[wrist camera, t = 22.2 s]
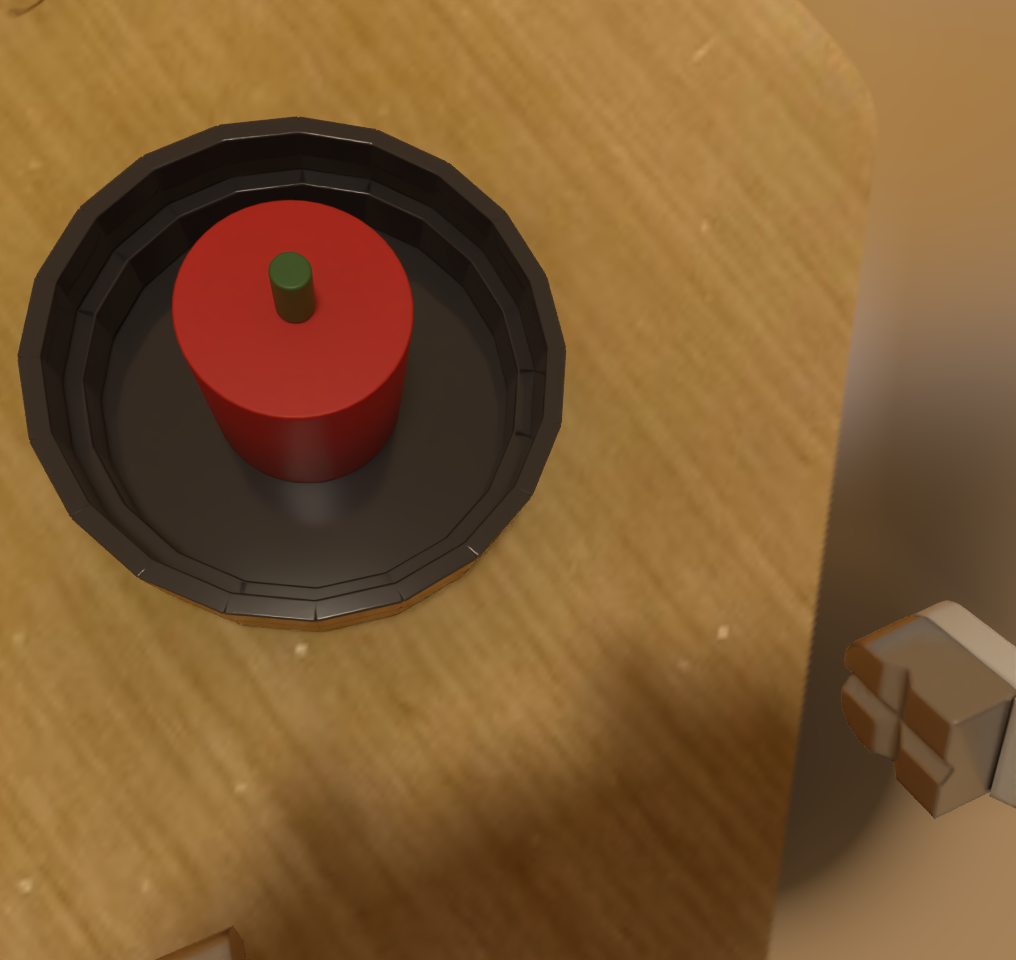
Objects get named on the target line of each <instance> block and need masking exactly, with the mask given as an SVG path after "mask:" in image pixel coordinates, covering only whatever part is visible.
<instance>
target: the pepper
mask: <svg viewBox="0 0 1016 960" xmlns="http://www.w3.org/2000/svg"><path fill="white" fill-rule="evenodd" d="M172 318H173V326H174V330H175V334H176V338H177V341H178V344H179V346H180V348H181V351H182V353H183V355H184V357H185V359H186V361H187V363H188V365H189V367H190V369H191V371H192V373H193V375H194V377H195V379H196V381H197V383H198V385H199V387H200V389H201V391H202V393H203V395H204V397H205V399H206V401H207V403H208V405H209V407H210V409H211V411H212V413H213V415H214V417H215V419H216V421H217V423H218V425H219V427H220V429H221V431H222V433H223V435H224V437H225V438H226V440H227V442H228V443H229V444H230V446H231V447H232V448H233V449H234V451H235V452H236V453H237V454H238V455H239V456H240V457H241V458H242V459H243V460H245V461H246V462H247V463H249V464H250V465H251V466H253V467H254V468H256V469H258V470H260V471H261V472H263V473H265V474H268V475H270V476H273V477H275V478H278V479H282V480H286V481H292V482H300V483H315V482H323V481H328V480H332V479H336V478H339V477H342V476H344V475H347V474H349V473H351V472H353V471H355V470H357V469H358V468H360V467H362V466H363V465H364V464H366V463H367V462H368V461H370V460H371V459H372V458H373V457H374V456H375V455H376V454H377V453H378V452H379V451H380V450H381V448H382V447H383V446H384V445H385V443H386V442H387V440H388V438H389V437H390V435H391V433H392V431H393V429H394V426H395V424H396V421H397V417H398V413H399V408H400V402H401V396H402V390H403V384H404V378H405V371H406V365H407V359H408V353H409V347H410V341H411V334H412V327H413V319H414V308H413V298H412V292H411V287H410V284H409V281H408V278H407V275H406V273H405V270H404V268H403V266H402V264H401V262H400V261H399V259H398V257H397V256H396V254H395V253H394V251H393V250H392V249H391V247H390V246H389V245H388V244H387V243H386V241H385V240H384V239H383V238H382V237H381V236H380V235H378V234H377V233H376V232H375V231H374V230H373V229H372V228H370V227H369V226H368V225H366V224H365V223H364V222H362V221H361V220H359V219H357V218H355V217H354V216H352V215H350V214H348V213H346V212H344V211H341V210H339V209H336V208H334V207H331V206H327V205H324V204H320V203H315V202H309V201H299V200H282V201H271V202H266V203H261V204H257V205H253V206H250V207H247V208H244V209H242V210H239V211H237V212H235V213H233V214H231V215H229V216H227V217H226V218H224V219H222V220H221V221H219V222H218V223H216V224H215V225H214V226H213V227H211V228H210V229H209V230H208V231H206V232H205V233H204V234H203V235H202V237H201V238H200V239H199V240H198V241H197V242H196V243H195V244H194V246H193V247H192V249H191V250H190V251H189V253H188V254H187V256H186V258H185V259H184V261H183V263H182V265H181V267H180V270H179V272H178V275H177V278H176V281H175V285H174V291H173V296H172Z"/></svg>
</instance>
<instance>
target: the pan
mask: <svg viewBox="0 0 1016 960" xmlns="http://www.w3.org/2000/svg"><path fill="white" fill-rule="evenodd" d="M282 200H299V201H309V202H315V203H320V204H324V205H327V206H331V207H334V208H336V209H339V210H341V211H344V212H346V213H348V214H350V215H352V216H354V217H355V218H357V219H359V220H361V221H362V222H364V223H365V224H366V225H368V226H369V227H370V228H372V229H373V230H374V231H375V232H376V233H377V234H378V235H380V236H381V237H382V238H383V239H384V240H385V241H386V243H387V244H388V245H389V246H390V247H391V249H392V250H393V251H394V253H395V254H396V256H397V257H398V259H399V261H400V262H401V264H402V266H403V268H404V270H405V273H406V275H407V278H408V281H409V284H410V287H411V292H412V298H413V308H414V319H413V327H412V334H411V341H410V347H409V353H408V359H407V365H406V371H405V378H404V384H403V390H402V396H401V402H400V408H399V413H398V417H397V421H396V424H395V426H394V429H393V431H392V433H391V435H390V437H389V438H388V440H387V442H386V443H385V445H384V446H383V447H382V448H381V450H380V451H379V452H378V453H377V454H376V455H375V456H374V457H373V458H372V459H371V460H370V461H368V462H367V463H366V464H364V465H363V466H362V467H360V468H358V469H357V470H355V471H353V472H351V473H349V474H347V475H344V476H342V477H339V478H336V479H332V480H328V481H323V482H315V483H300V482H292V481H286V480H282V479H278V478H275V477H273V476H270V475H268V474H265V473H263V472H261V471H260V470H258V469H256V468H254V467H253V466H251V465H250V464H249V463H247V462H246V461H245V460H243V459H242V458H241V457H240V456H239V455H238V454H237V453H236V452H235V451H234V449H233V448H232V447H231V446H230V444H229V443H228V442H227V440H226V438H225V437H224V435H223V433H222V431H221V429H220V427H219V425H218V423H217V421H216V419H215V417H214V415H213V413H212V411H211V409H210V407H209V405H208V403H207V401H206V399H205V397H204V395H203V393H202V391H201V389H200V387H199V385H198V383H197V381H196V379H195V377H194V375H193V373H192V371H191V369H190V367H189V365H188V363H187V361H186V359H185V357H184V355H183V353H182V351H181V348H180V346H179V344H178V341H177V338H176V334H175V330H174V326H173V318H172V296H173V291H174V285H175V281H176V278H177V275H178V272H179V270H180V267H181V265H182V263H183V261H184V259H185V258H186V256H187V254H188V253H189V251H190V250H191V249H192V247H193V246H194V244H195V243H196V242H197V241H198V240H199V239H200V238H201V237H202V235H203V234H204V233H205V232H206V231H208V230H209V229H210V228H211V227H213V226H214V225H215V224H216V223H218V222H219V221H221V220H222V219H224V218H226V217H227V216H229V215H231V214H233V213H235V212H237V211H239V210H242V209H244V208H247V207H250V206H253V205H257V204H261V203H266V202H271V201H282ZM565 348H566V346H565V342H564V338H563V335H562V331H561V327H560V323H559V320H558V316H557V312H556V308H555V305H554V301H553V297H552V293H551V290H550V286H549V282H548V278H547V277H546V274H545V272H544V271H543V269H542V268H541V266H540V265H539V263H538V261H537V260H536V258H535V257H534V255H533V254H532V252H531V250H530V249H529V247H528V246H527V244H526V243H525V241H524V239H523V238H522V236H521V235H520V233H519V232H518V230H517V228H516V227H515V225H514V224H513V222H512V221H511V219H510V217H509V216H508V214H507V213H506V212H505V211H504V210H503V209H502V208H501V207H500V206H499V205H497V204H496V203H495V202H494V201H493V200H492V199H490V198H489V197H488V196H487V195H486V194H485V193H483V192H482V191H481V190H480V189H479V188H478V187H477V186H475V185H474V184H473V183H472V182H471V181H470V180H468V179H467V178H466V177H465V176H464V175H463V174H461V173H460V172H459V171H458V170H457V169H456V168H455V167H453V166H452V165H451V164H450V163H447V162H446V161H444V160H442V159H440V158H438V157H436V156H433V155H431V154H429V153H427V152H425V151H423V150H420V149H418V148H416V147H414V146H412V145H410V144H408V143H405V142H403V141H401V140H399V139H397V138H395V137H392V136H390V135H388V134H386V133H384V132H382V131H380V130H376V129H372V128H366V127H359V126H353V125H347V124H341V123H335V122H329V121H323V120H317V119H311V118H305V117H299V118H298V117H287V118H277V119H268V120H259V121H249V122H240V123H231V124H221V125H219V126H214V127H212V128H209V129H207V130H204V131H202V132H199V133H197V134H194V135H192V136H189V137H187V138H185V139H182V140H180V141H177V142H175V143H172V144H170V145H167V146H165V147H162V148H160V149H158V150H155V151H153V152H150V153H148V154H145V155H144V156H143V157H140V158H139V159H138V160H136V161H135V162H134V163H133V164H132V165H130V166H129V167H128V168H127V169H125V170H124V171H123V172H122V173H121V174H119V175H118V176H117V177H116V178H114V179H113V180H112V181H111V182H110V183H108V184H107V185H106V186H105V187H103V188H102V189H101V190H100V191H99V192H97V193H96V194H95V195H94V196H92V197H91V198H90V199H89V200H88V201H86V202H85V203H84V204H83V205H81V207H80V209H78V210H77V211H76V213H75V215H74V216H73V218H72V219H71V221H70V223H69V224H68V226H67V227H66V229H65V230H64V232H63V234H62V235H61V237H60V238H59V240H58V242H57V243H56V245H55V246H54V248H53V249H52V251H51V253H50V254H49V256H48V257H47V259H46V261H45V262H44V264H43V265H42V267H41V268H40V270H39V272H38V273H37V275H36V277H35V279H34V283H33V288H32V292H31V297H30V301H29V306H28V310H27V315H26V320H25V324H24V329H23V333H22V338H21V342H20V347H19V351H18V366H19V373H20V381H21V388H22V395H23V402H24V409H25V416H26V423H27V430H28V437H29V440H30V444H31V446H32V448H33V450H34V451H35V453H36V455H37V457H38V459H39V461H40V462H41V464H42V466H43V468H44V470H45V472H46V473H47V475H48V477H49V479H50V481H51V483H52V484H53V486H54V488H55V490H56V492H57V494H58V496H59V497H60V499H61V501H62V503H63V505H64V507H65V508H66V510H67V512H68V514H69V516H70V517H72V520H73V521H75V522H76V523H77V524H78V525H79V526H80V527H81V528H82V529H84V530H85V531H86V532H87V533H88V534H89V535H90V536H91V537H93V538H94V539H95V540H96V541H97V542H98V543H99V544H100V545H102V546H103V547H104V548H105V549H106V550H107V551H108V552H109V553H110V554H112V555H113V556H114V557H115V558H116V559H117V560H118V561H119V562H121V563H122V564H123V565H124V566H125V567H126V568H127V569H128V570H130V571H131V572H132V573H133V574H134V575H135V576H136V577H138V578H140V579H141V580H143V581H145V582H146V583H148V584H150V585H152V586H154V587H156V588H158V589H159V590H161V591H163V592H165V593H167V594H169V595H171V596H173V597H176V598H178V599H180V600H183V601H185V602H187V603H190V604H192V605H194V606H197V607H199V608H202V609H204V610H206V611H209V612H211V613H213V614H216V615H218V616H220V617H223V618H225V619H228V620H230V621H232V622H235V623H237V624H242V625H246V626H258V627H269V628H281V629H293V630H304V631H316V632H319V631H320V630H321V631H327V630H331V629H335V628H340V627H344V626H349V625H353V624H357V623H362V622H366V621H370V620H375V619H379V618H383V617H388V616H392V615H396V614H398V613H400V612H402V611H404V610H405V609H407V608H409V607H410V606H412V605H414V604H416V603H417V602H419V601H421V600H422V599H424V598H426V597H427V596H429V595H431V594H432V593H434V592H436V591H437V590H439V589H441V588H442V587H444V586H446V585H447V584H449V583H451V582H453V581H454V580H456V579H458V578H459V577H461V576H462V575H463V574H464V573H465V572H466V571H467V570H468V569H469V568H470V567H471V566H472V565H473V563H474V562H475V561H476V560H477V559H478V558H479V557H480V556H481V555H482V553H483V552H484V551H485V550H486V549H487V548H488V547H489V545H490V544H491V543H492V542H493V541H494V540H495V539H496V537H497V536H498V535H499V534H500V533H501V532H502V530H503V529H504V528H505V527H506V526H507V525H508V524H509V522H510V521H511V520H512V519H513V518H514V517H515V516H516V514H517V513H518V512H519V511H520V510H521V509H522V508H523V506H524V505H525V504H526V503H527V502H528V501H529V500H530V498H531V496H532V495H533V493H534V490H535V488H536V486H537V483H538V481H539V478H540V476H541V473H542V471H543V469H544V466H545V464H546V461H547V459H548V456H549V454H550V452H551V449H552V447H553V444H554V442H555V439H556V437H557V435H558V432H559V430H560V427H561V423H562V409H563V393H564V377H565V360H566V349H565Z"/></svg>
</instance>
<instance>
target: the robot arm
mask: <svg viewBox="0 0 1016 960" xmlns="http://www.w3.org/2000/svg"><path fill="white" fill-rule="evenodd" d="M844 665H845V666H846V667H847V668H848V669H849V670H851V671H852V673H851V674H850V676H849V677H848V679H847V680H846V682H845V683H844V685H843V687H842V698H841V706H842V709H843V712H844V714H845V717H846V720H847V722H848V725H849V726H850V728H851V729H852V731H853V732H854V734H855V735H856V737H857V738H858V740H860V742H861V743H862V744H863V745H864V746H865V747H866V748H867V749H868V750H869V751H870V752H871V753H872V754H874V755H877V756H880V757H882V758H885V759H888V760H891V761H893V762H894V767H895V773H896V779H897V781H898V782H899V783H900V784H901V785H902V786H903V787H904V788H905V789H906V790H907V791H908V792H909V793H910V794H911V795H912V796H913V797H914V798H915V799H916V800H917V801H918V802H919V803H920V804H921V805H922V806H923V807H924V808H925V809H926V810H927V811H928V812H929V813H930V814H931V816H933V818H934V819H935V818H937V817H939V816H941V815H943V814H945V813H948V812H950V811H952V810H954V809H956V808H958V807H960V806H962V805H964V804H966V803H968V802H970V801H972V800H974V799H976V798H978V797H981V796H983V795H985V794H986V793H989V792H990V797H993V798H995V799H997V800H999V801H1001V802H1003V803H1005V804H1008V805H1010V806H1012V807H1014V808H1016V647H1015V646H1014V645H1012V644H1011V643H1010V642H1008V641H1007V640H1006V639H1004V638H1003V637H1002V636H1000V635H999V634H998V633H996V632H995V631H994V630H992V629H991V628H990V627H989V626H987V625H986V624H985V623H983V622H982V621H981V620H979V619H978V618H977V617H975V616H974V615H973V614H971V613H970V612H969V611H967V610H966V609H965V608H964V607H962V606H960V605H959V604H958V603H955V602H951V601H948V600H946V601H943V602H939V603H937V604H935V605H933V606H931V607H929V608H927V609H924V610H922V611H920V612H918V613H916V614H914V615H912V616H911V615H909V616H907V617H905V618H903V619H901V620H899V621H897V622H894V623H892V624H890V625H888V626H886V627H884V628H882V629H880V630H878V631H876V632H873V633H871V634H869V635H867V636H865V637H863V638H861V639H859V640H857V641H855V642H853V643H851V644H850V646H849V647H848V648H847V649H846V651H845V659H844ZM156 960H248V959H246V953H245V947H244V942H243V939H242V938H241V936H240V935H239V933H238V932H237V931H236V929H235V928H234V926H231V927H228V928H226V929H224V930H222V931H219V932H217V933H215V934H212V935H210V936H208V937H206V938H203V939H201V940H199V941H197V942H194V943H192V944H190V945H188V946H185V947H183V948H181V949H178V950H176V951H174V952H172V953H169V954H167V955H165V956H163V957H160V958H158V959H156Z"/></svg>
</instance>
